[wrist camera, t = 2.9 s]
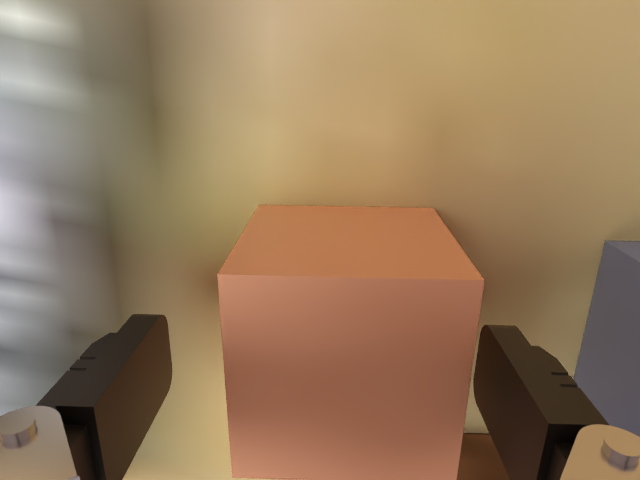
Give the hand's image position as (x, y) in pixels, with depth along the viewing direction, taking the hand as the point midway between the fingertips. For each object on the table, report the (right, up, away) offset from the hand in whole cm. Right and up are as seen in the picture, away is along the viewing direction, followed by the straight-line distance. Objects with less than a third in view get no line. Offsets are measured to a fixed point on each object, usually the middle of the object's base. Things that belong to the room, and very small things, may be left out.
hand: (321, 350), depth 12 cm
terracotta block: (+1, +1, +4) cm, 4 cm away
